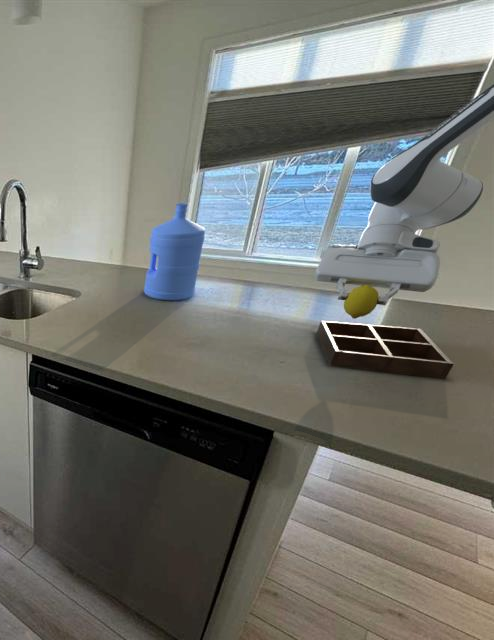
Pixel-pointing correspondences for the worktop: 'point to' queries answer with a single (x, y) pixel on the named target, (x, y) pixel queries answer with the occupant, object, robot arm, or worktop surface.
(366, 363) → the grid
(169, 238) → the water jug
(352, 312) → the lemon
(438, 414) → the worktop surface
